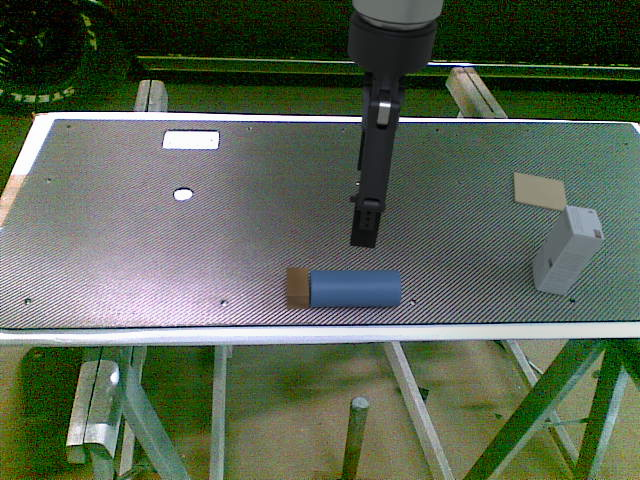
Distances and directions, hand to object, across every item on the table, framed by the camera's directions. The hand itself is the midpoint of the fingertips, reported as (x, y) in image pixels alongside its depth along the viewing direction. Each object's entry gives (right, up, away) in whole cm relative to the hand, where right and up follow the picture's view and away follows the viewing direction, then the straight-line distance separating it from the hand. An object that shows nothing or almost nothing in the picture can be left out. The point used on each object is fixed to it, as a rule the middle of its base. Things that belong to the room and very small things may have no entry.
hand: (365, 204), depth 55 cm
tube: (-1, -12, +12) cm, 17 cm away
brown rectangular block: (-8, -12, +11) cm, 18 cm away
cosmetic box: (+29, -10, +16) cm, 35 cm away
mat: (+35, +5, +31) cm, 47 cm away
